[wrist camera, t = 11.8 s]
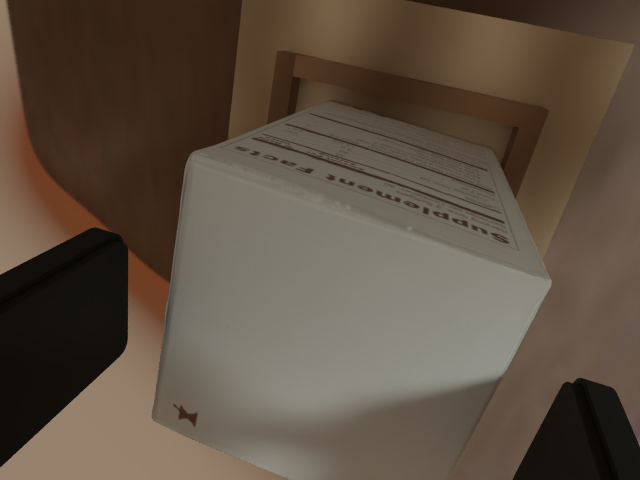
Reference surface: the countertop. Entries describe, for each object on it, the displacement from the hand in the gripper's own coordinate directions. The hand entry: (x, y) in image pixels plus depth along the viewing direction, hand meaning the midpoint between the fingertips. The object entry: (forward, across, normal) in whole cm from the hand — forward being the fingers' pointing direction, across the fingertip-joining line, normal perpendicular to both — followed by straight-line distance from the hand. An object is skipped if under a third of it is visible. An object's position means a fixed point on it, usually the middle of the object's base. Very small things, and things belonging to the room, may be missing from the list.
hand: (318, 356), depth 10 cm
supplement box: (+13, 0, +1) cm, 13 cm away
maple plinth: (+16, +1, +1) cm, 17 cm away
